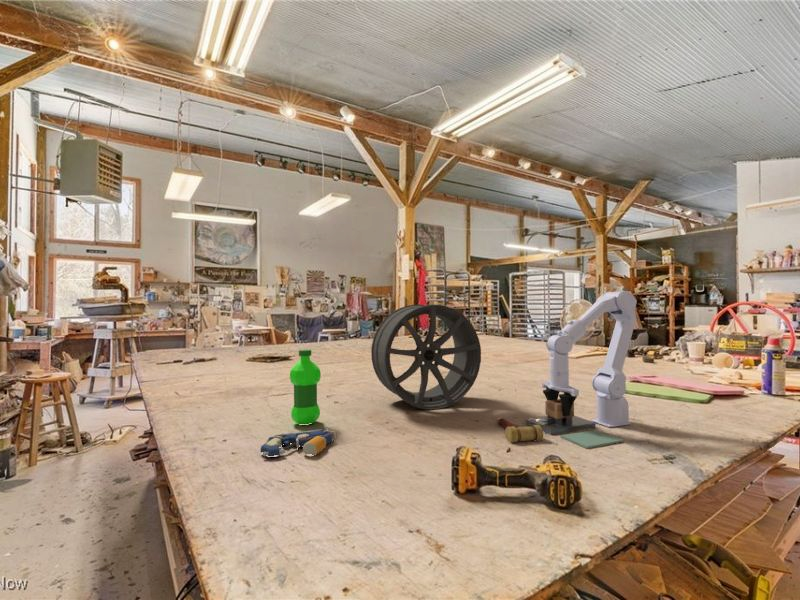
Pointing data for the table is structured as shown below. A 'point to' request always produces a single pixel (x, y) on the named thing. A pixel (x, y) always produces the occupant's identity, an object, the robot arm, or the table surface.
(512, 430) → the gavel
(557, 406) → the sleeve block
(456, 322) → the car wheel rim
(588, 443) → the mat
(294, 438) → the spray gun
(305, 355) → the plastic bottle
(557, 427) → the vise
